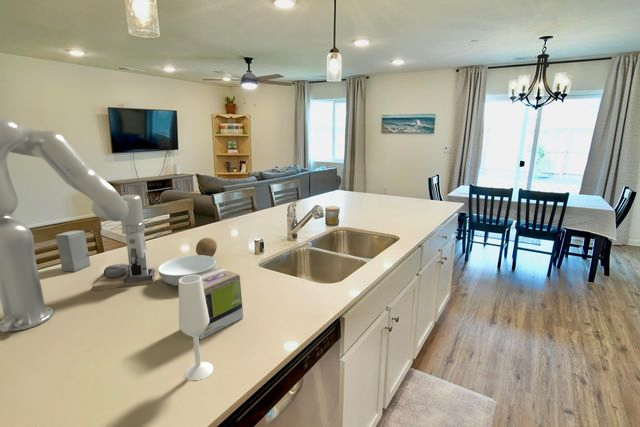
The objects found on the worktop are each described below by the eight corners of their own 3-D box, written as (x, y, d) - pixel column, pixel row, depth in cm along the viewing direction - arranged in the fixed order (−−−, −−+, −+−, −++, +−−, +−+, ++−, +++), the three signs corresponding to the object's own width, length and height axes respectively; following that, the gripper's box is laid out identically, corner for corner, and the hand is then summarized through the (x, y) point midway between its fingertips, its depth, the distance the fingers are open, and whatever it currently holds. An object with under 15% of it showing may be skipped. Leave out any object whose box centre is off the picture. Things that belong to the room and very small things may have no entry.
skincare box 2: (130, 284, 128) (126, 254, 125) (132, 279, 132) (128, 250, 129) (148, 281, 130) (145, 251, 128) (149, 277, 134) (146, 248, 132)
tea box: (224, 308, 110) (221, 266, 107) (243, 318, 104) (241, 274, 101) (181, 328, 99) (176, 281, 96) (200, 341, 93) (195, 292, 90)
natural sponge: (204, 264, 148) (202, 242, 145) (192, 259, 153) (190, 238, 151) (221, 258, 155) (219, 237, 152) (209, 254, 160) (208, 234, 158)
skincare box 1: (74, 272, 139) (68, 235, 135) (60, 271, 140) (53, 234, 137) (92, 264, 147) (86, 230, 143) (78, 263, 148) (72, 229, 145)
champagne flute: (188, 385, 77) (178, 288, 71) (180, 368, 82) (170, 277, 76) (217, 373, 80) (209, 280, 75) (208, 358, 86) (200, 270, 80)
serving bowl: (193, 266, 145) (192, 251, 144) (228, 276, 135) (227, 260, 133) (148, 284, 128) (146, 267, 126) (184, 297, 117) (182, 279, 116)
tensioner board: (153, 282, 129) (151, 270, 128) (93, 290, 123) (90, 277, 122) (157, 269, 142) (156, 258, 141) (103, 275, 136) (101, 264, 134)
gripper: (140, 233, 119) (146, 277, 123) (148, 221, 135) (152, 261, 139) (116, 235, 117) (123, 280, 121) (127, 222, 133) (132, 263, 137)
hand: (139, 270), depth 130 cm, fingers open, 9 cm apart
